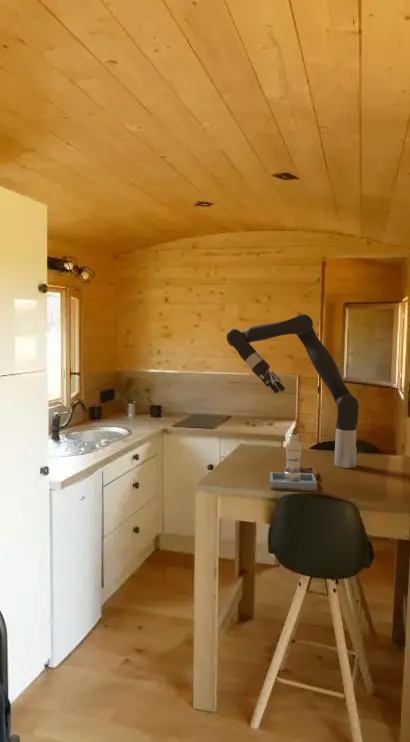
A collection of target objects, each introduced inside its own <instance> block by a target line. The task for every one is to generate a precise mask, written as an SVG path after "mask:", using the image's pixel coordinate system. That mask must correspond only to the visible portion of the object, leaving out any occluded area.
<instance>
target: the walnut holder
mask: <svg viewBox="0 0 410 742" xmlns="http://www.w3.org/2000/svg"><path fill="white" fill-rule="evenodd" d="M283 467H284V468H283V473H285V471H286V465H284V466H283ZM300 474H314V476H315V479H316V481H317V478H318V474H317V471H316V469H315V467H314V466H301V465H300Z"/></svg>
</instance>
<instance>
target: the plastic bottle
mask: <svg viewBox="0 0 410 742" xmlns="http://www.w3.org/2000/svg"><path fill="white" fill-rule="evenodd" d="M299 437H300V434H299V433H296V432H295V433H294V432H292V433H291V432H290V433H289V437H288V438H289V440H288V441H287V442H286V444H285V454H286V458H285V459H286V462H285V463H286V465H285V466H286V471H285V474H284V479H285V481H286V482H299V481H300V479H301V474H300V466H301V465H300V464H301V456H302V452H303V451H302V450H303V446H302V444H301V442H300V441H299V439H300V438H299Z"/></svg>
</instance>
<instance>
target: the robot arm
mask: <svg viewBox="0 0 410 742" xmlns="http://www.w3.org/2000/svg"><path fill="white" fill-rule="evenodd" d="M313 327H314V322H313V319H312V318H311V316H309V315H307V314H304V313H301V314H298V315H295V317H292V318H288V319H286V320H283V321H282V320H281V321H278V322H272V323H271V322H270V323H265V324H259V325H254V326H250V327H247V328H246V329H245V330H242V331H240V330H239V329H236V328H231V329H230V330H228V331H227V333H226V341H227V343H228V345H229V346H231V347H233V348H234V349H235V350H236V352H237V354H238V355H239V357H240V358H241V360H243V361H244V363H245V364H246V365H247V366H248V369H250V370H251V371H252V372H253V374H254V375H255V376H256V377H257V378H259V379H260V380H261V382H262V383H264V385H265V387H267V388H270V389H271V390H272V391H273V392H274V393H275V394H278V393H279V392H284V391H285V390H286V387H285V386H284V385H283V384H282V383H281V379H280V378H279V377H278V376H277V374H276V373H275V372H274V371H273V370H272V371H270V368H271V366H270V364H269V363H268V362H267V361H266V360H265V359H264V357H263V356H262V355H261V354H260V353H258V352H257V350H256V349H255V348H254V347H253V346H252V345H251V344H250V343H254V342H260V341H266V340H269V339H273V338H277V337H281V336H286V335H287V336H288V335H296V336H297V337H298V338H299V340H300V341H301V343H302V345H303V346H304V348H305V351H306V352H307V355H308V357H309V359H310V361H311V363H312V365H313V367H314V369H315V371H316V372H317V374H318V376H319V377H320V379H321V380H322V382H323V383H324V384H325V386H326V387H327V388H328V390H329V392H330V394H331V396H332V398H333V401H334V403H335V405H336V407H337V413H336V416H337V418H336V423H335V442H334V443H335V445H334V466H335V467H338V468H343V469H344V468H345V469H346V468H347V469H350V468H356V467H357V446H356V445H357V427H358V426H357V425H358V421H359V401H358V400H357V398H356V397H355V396H354V395H353V393H351V392H350V390H349V388H348V387H347V386H346V384H345V383H344V381H343V379H342V375H341V373H340V370H339V368H338V366H337V363H336V361H335V360H334V358H333V356H332V354H331V353H330V352H329V351H328V348H326V346H325V345H324V344H323V342H321V341H320V339H319V337H318V335H317V334H316V331H315V329H314V328H313Z"/></svg>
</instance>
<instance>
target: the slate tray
mask: <svg viewBox="0 0 410 742" xmlns="http://www.w3.org/2000/svg"><path fill="white" fill-rule="evenodd" d="M284 474H285V473H284V472H274V471H273V472H272V471H270V472H269V487H270V490H281V491H283V490H285V491H303V492H304V491H305V492H318V482H317V480H316V479H315V476H314V474H301V479H300V481H299V482H286V481H285V479H284Z"/></svg>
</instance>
